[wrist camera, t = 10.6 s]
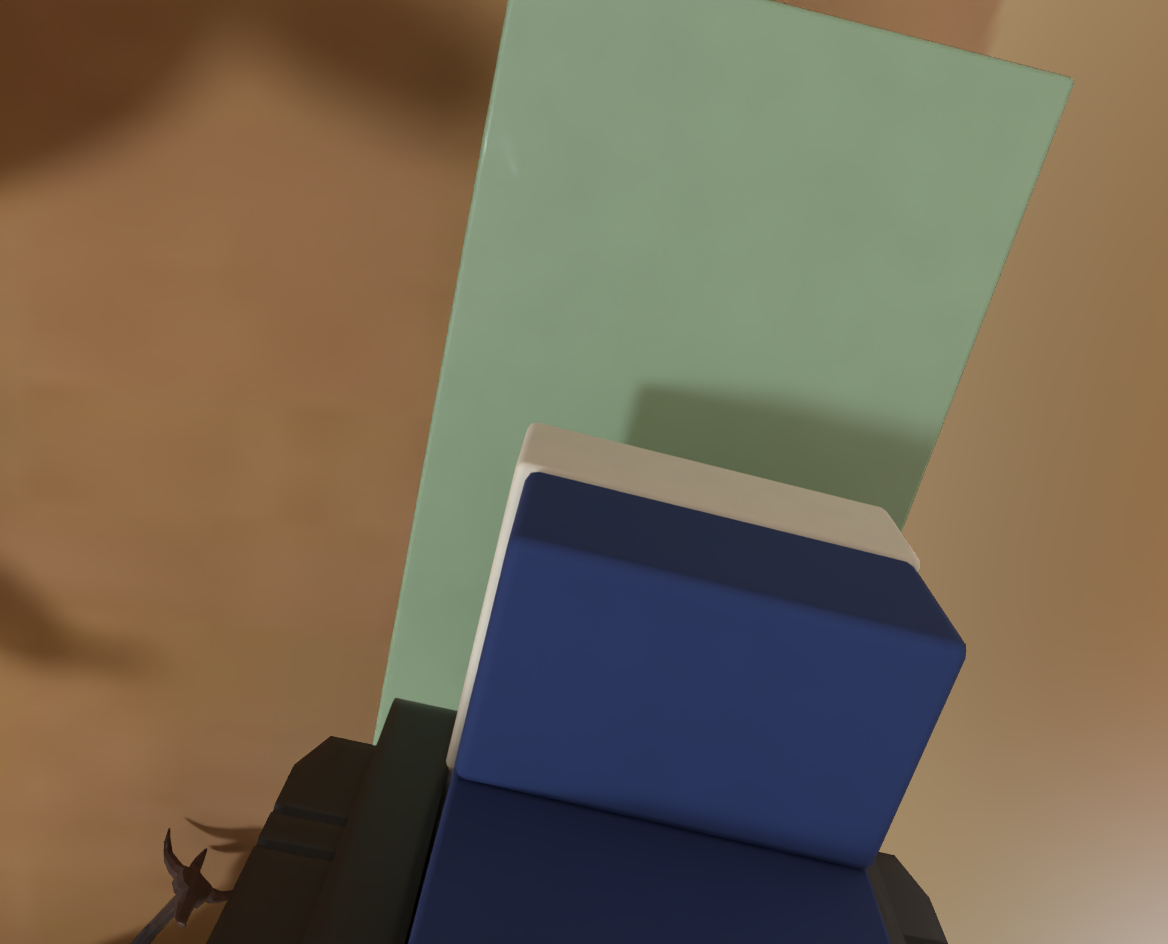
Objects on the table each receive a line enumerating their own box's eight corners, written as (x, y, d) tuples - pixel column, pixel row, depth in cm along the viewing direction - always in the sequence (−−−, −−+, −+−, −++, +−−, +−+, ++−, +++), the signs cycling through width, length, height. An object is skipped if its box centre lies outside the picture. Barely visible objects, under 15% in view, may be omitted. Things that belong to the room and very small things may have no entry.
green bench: (554, 5, 14) (519, -67, 9) (899, 93, 15) (1078, 77, 9) (391, 826, 20) (305, 1104, 14) (645, 878, 20) (658, 1169, 15)
